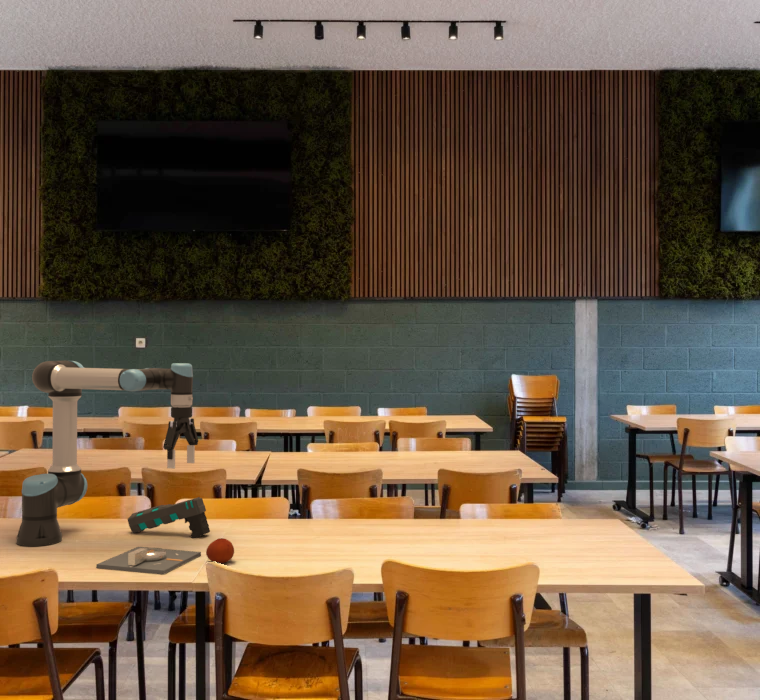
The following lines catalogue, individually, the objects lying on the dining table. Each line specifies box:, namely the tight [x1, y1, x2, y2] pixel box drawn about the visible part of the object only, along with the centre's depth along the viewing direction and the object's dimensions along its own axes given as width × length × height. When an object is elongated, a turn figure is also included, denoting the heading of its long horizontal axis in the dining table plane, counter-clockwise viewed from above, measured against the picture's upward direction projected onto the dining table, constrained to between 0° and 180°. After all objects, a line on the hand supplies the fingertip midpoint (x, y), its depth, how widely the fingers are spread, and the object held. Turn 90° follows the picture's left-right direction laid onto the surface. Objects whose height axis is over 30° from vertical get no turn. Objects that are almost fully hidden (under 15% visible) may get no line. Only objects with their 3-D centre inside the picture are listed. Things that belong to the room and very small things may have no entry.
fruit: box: [205, 537, 235, 564], centre depth 267 cm, size 9×9×8 cm
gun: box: [127, 496, 211, 539], centre depth 305 cm, size 7×29×15 cm, turn 78°
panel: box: [96, 546, 202, 575], centre depth 267 cm, size 24×24×1 cm
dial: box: [128, 547, 166, 565], centre depth 264 cm, size 16×10×4 cm, turn 165°
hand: (181, 465), depth 291 cm, fingers open, 13 cm apart
